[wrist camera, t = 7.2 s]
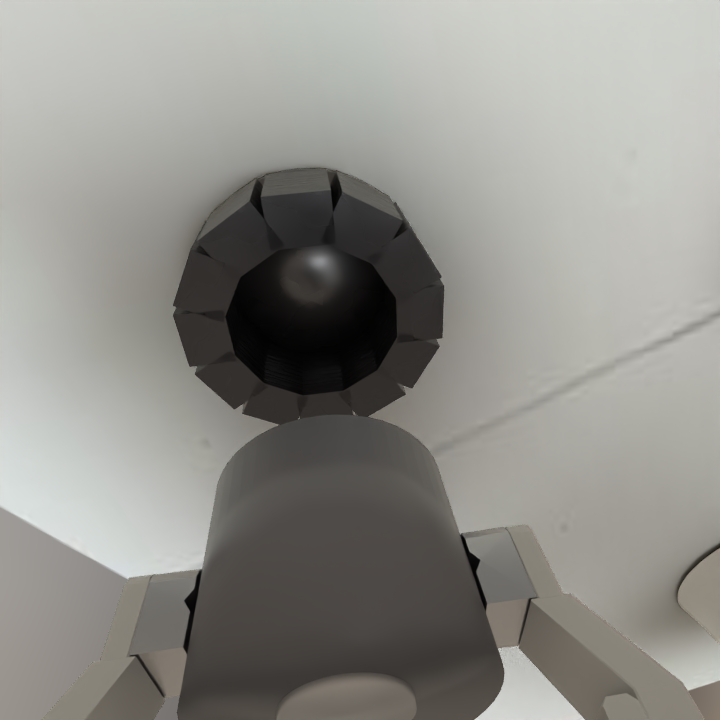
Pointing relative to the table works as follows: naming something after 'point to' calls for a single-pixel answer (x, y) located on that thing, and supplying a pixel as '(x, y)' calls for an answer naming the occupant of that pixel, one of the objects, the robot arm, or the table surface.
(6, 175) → the table surface
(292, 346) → the segmented grey ring
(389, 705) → the cap
